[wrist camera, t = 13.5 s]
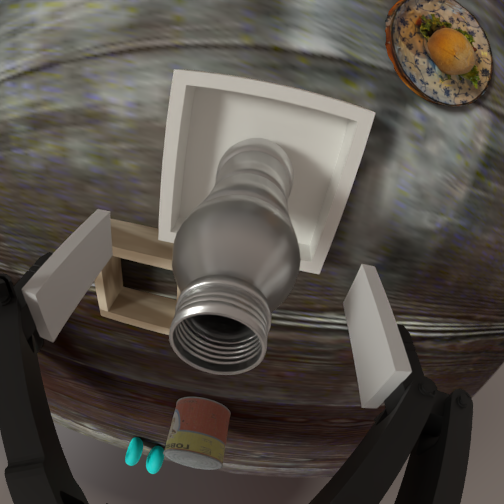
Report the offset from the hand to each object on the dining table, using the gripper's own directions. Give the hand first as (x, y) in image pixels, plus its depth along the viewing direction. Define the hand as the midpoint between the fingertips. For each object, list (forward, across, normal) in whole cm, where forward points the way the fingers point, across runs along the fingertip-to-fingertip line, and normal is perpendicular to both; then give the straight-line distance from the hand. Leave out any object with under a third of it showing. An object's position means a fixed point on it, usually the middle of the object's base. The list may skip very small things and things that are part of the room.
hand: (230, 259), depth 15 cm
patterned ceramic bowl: (+16, -14, -17) cm, 27 cm away
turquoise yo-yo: (+16, +16, +85) cm, 88 cm away
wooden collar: (+16, +10, +15) cm, 24 cm away
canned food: (+16, +1, +50) cm, 52 cm away
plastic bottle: (+15, 0, 0) cm, 15 cm away
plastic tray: (+16, 0, 0) cm, 16 cm away
